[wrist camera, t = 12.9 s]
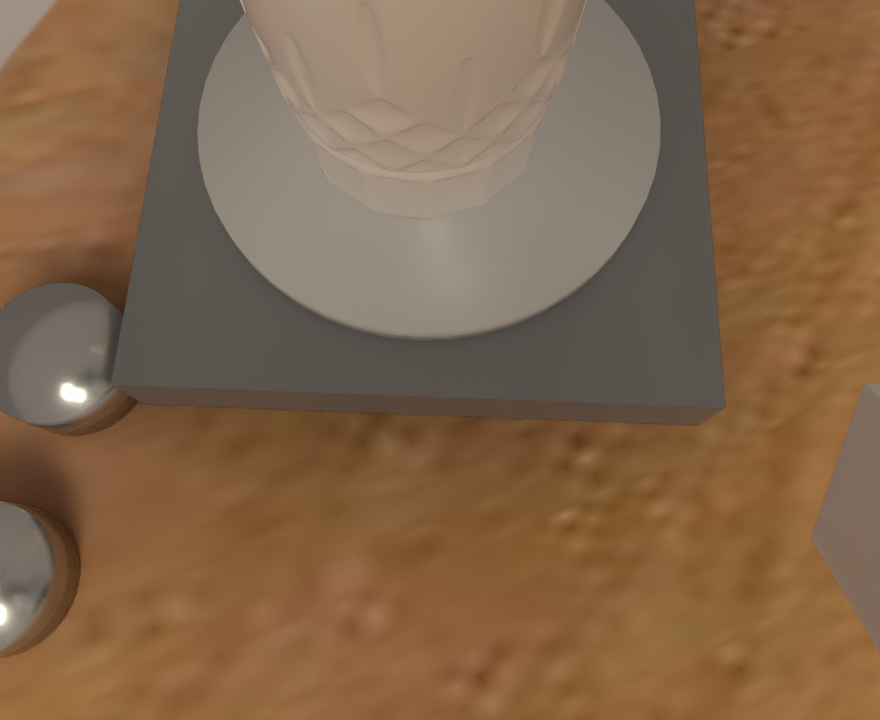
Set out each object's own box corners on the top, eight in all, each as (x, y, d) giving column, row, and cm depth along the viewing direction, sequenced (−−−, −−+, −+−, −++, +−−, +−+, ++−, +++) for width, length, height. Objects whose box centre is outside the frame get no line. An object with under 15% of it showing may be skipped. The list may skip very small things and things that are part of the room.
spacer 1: (162, 310, 22) (135, 284, 20) (142, 439, 21) (111, 425, 19) (33, 306, 22) (-5, 280, 20) (6, 434, 21) (-39, 420, 19)
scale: (667, -37, 25) (695, -115, 23) (696, 425, 21) (737, 400, 18) (218, -48, 26) (190, -127, 23) (144, 404, 21) (96, 376, 18)
